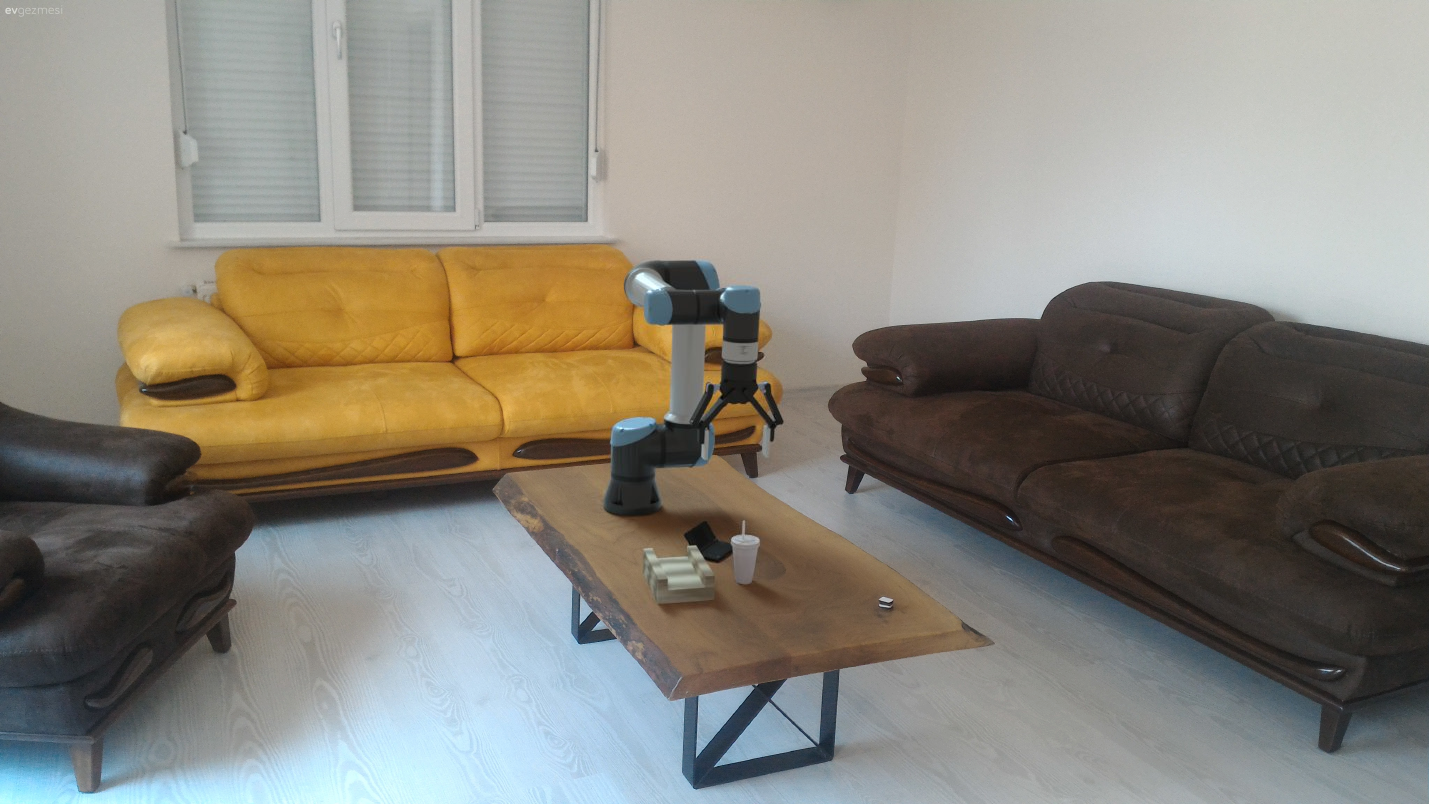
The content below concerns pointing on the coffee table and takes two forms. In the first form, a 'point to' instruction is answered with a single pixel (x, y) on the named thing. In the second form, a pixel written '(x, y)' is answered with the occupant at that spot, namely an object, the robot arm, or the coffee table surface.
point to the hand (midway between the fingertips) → (735, 457)
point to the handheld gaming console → (708, 542)
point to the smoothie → (744, 556)
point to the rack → (679, 577)
